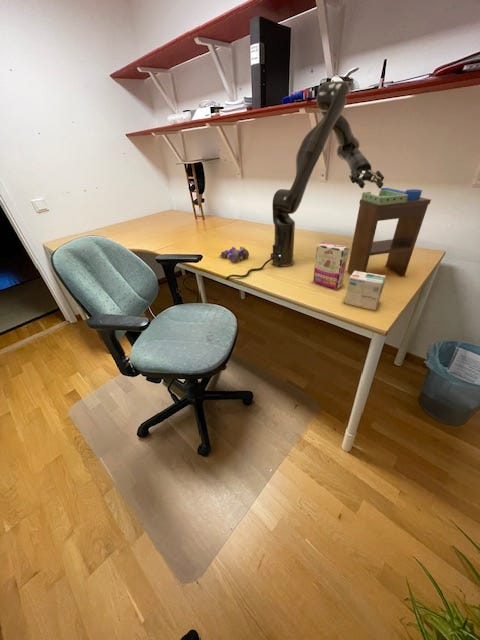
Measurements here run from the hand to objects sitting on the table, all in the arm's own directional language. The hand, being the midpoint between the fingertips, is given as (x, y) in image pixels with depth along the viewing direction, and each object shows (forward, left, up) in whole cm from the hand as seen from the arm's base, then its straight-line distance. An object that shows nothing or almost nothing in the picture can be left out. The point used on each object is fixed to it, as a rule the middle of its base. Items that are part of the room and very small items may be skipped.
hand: (372, 186), depth 111 cm
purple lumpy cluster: (-52, +37, -32) cm, 72 cm away
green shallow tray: (-16, -17, -2) cm, 23 cm away
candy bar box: (-34, -14, -32) cm, 49 cm away
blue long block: (-4, -16, -2) cm, 16 cm away
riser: (-11, -19, -32) cm, 38 cm away
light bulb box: (-35, -32, -32) cm, 57 cm away
